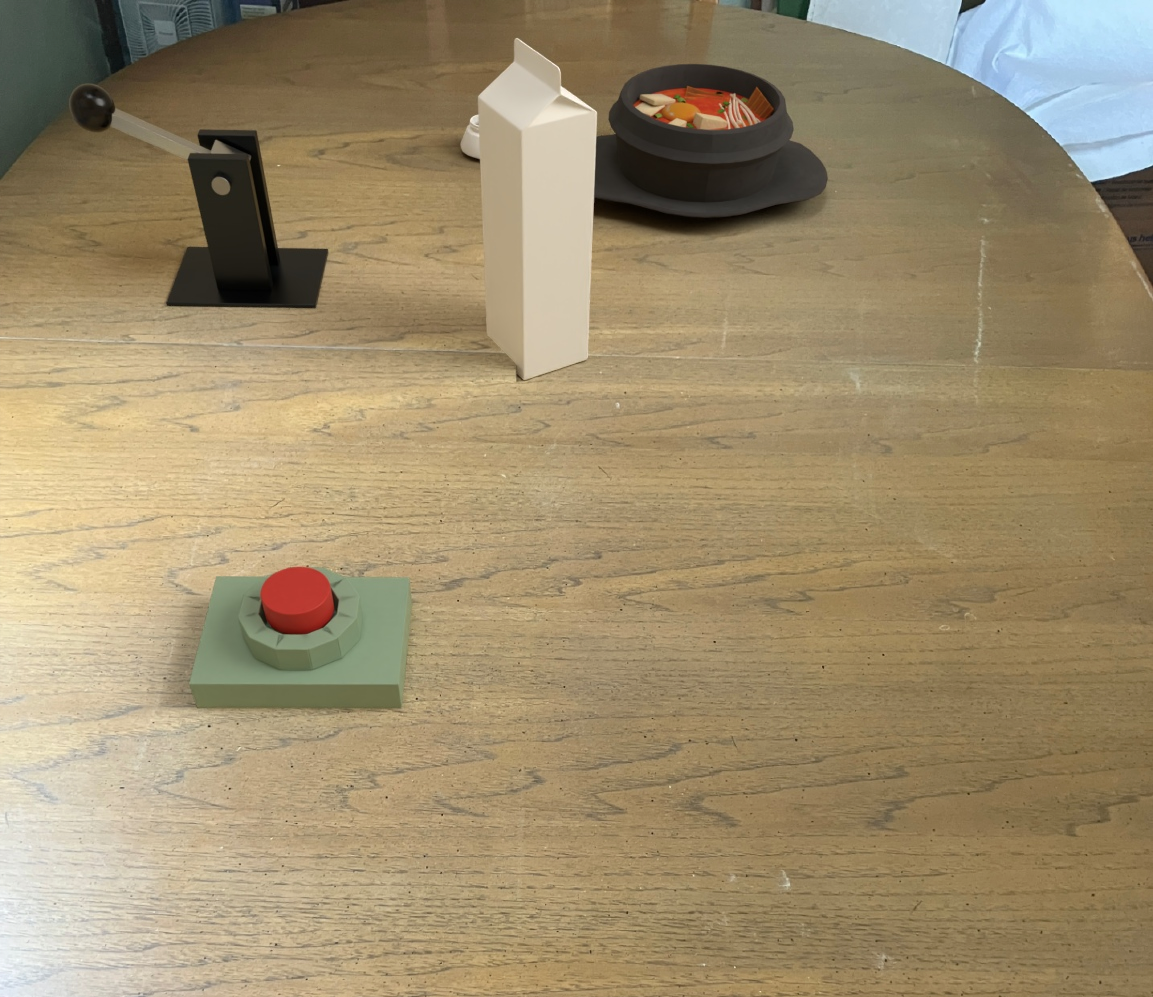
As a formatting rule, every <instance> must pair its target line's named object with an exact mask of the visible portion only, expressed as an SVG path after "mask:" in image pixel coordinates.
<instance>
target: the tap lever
mask: <svg viewBox="0 0 1153 997" xmlns="http://www.w3.org/2000/svg"><path fill="white" fill-rule="evenodd" d="M69 96H70V97H69V101H68V105H69V106H68V108H69V112H70V115H71V117H72V119H73V120H74V121H75V123H76V124H77V125H78V126H80V127H81V128H82V129H83V130H85V131H88V132H91V133H104V132H106V131H107V130H109V129H110V128H113V129H115V130H118V131H120V132H122V133H124V134H126V135H128V136H130V137H133V138H136V139H138V140H140V141H142V142H145V143H147V144H149V145H151V146H153V147H156V148H158V149H160V150H163V151H165V152H168V153H170V154H172V155H174V156H176V157H179V158H181V159H182V160H183V159H184V160H186V161H188V157H189V154H190V153H216V154H246V153H244V152H242V151H240V150H238V149H235V148H233V147H231V146H229V145H226V144H224V143H222V142H220V141H218V140H215V142H214V144H213V147H212V149H211V150H208V149H206V148H204V147H202V146H200V145H199V144H197V143H195V142H193V141H190V140H189V139H186V138H183V137H181V136H179V135H177V134H176V133H173V132H170V131H169V130H166V129H163V128H161V127H159V126H157V125H155V124H152V123H150V122H148V121H146V120H144V119H141V118H139V117H136V116H135V115H133V114H130V113H127V112H126V111H123V110H121V109H119V108H116V105H115V102H114V99H113V98H112V96H111V94H110V93H109V92H108V91H107V90H105V89H104V88H103V87H102V86H100V85H98V84H94V83H83V84H80V85H78V86H77V87H75V88H74V89H73V90H72V92H71V94H70V95H69ZM248 155H249V154H248ZM250 159H251V155H249V160H250Z"/></svg>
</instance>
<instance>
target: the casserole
mask: <svg viewBox="0 0 1153 997" xmlns="http://www.w3.org/2000/svg"><path fill="white" fill-rule="evenodd" d="M786 102H787V101H786V98H785V96H784V95H783V92H782V91H781V90H780V89H779V88H778V87H777V86H776V85H775V84H773V83H771V82H770V81H769V80H766V79H765V78H762V77H760V76H759V75H757V74H754V73H751V72H748V71H745V70H742V69H737V68H732V67H728V66H725V65H717V64H707V63H706V64H705V63H701V64H700V63H679V64H668V65H663V66H659V67H653V68H650V69H647V70H644V71H641V72H639V73H637V74H635V75H634V76H632V77H630V78H629V79H628V80H627V81H626V82H625V83H624V85H623V86H622V88H621V90H620V93H619V96H618V99H617V100H616V101H615V102H614V103H613V104H612V106H611V107H610V109H609V111H608V119H607V120H608V124H609V125H610V128H611V129H612V131H613V132H614V133H613V134H603V135H596V155H595V181H594V199H599V200H601V201H602V200H603V201H608V202H615V203H623V204H629V205H630V204H631V205H634V206H638V207H640V208H645V209H649V210H652V211H657V212H659V213H664V214H667V215H674V216H680V217H689V218H703V219H704V218H705V219H706V218H727V217H732V216H740V215H745V214H749V213H752V212H756V211H760V210H763V209H766V208H769V207H773V206H775V205H783V204H789V203H790V204H791V203H795V202H796V203H797V202H804V201H807V200H812V199H814V198H815V197H818V196H819V195H821V194H822V193H823V192H824V190H825V189H826V187H827V184H828V180H829V178H828V177H829V176H828V171H827V168H826V167H825V164H824V163H823V162H822V160H821V159H820V158H819V157H818V156H817V155H816V154H815V153H814V152H813V151H812V150H811V149H810V148H809V147H807V146H805V145H804V144H802V143H800V142H797V141H794V140H791V139H792V136H793V133H794V131H795V130H794V122H793V119H791V118H792V117H790V115H789V113H788V111H787V110H788V109H787V103H786Z"/></svg>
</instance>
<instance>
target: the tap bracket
mask: <svg viewBox="0 0 1153 997" xmlns="http://www.w3.org/2000/svg"><path fill="white" fill-rule="evenodd" d="M196 136H197V140H198V145H200V146H202V147H204V148H206V149H208V150H211V149H212V147H213V144H214V142H215V140H218V141H220V142H222V143H224V144H226V145H229V146H231V147H233V148H235V149H238V150H240V151H242V152H244V153H246V154H216V153H190V154H189V157H188V160H187V162H188V166H189V171H190V176H191V181H192V184H193V188H194V193H195V197H196V198H195V199H196V203H197V206H198V210H199V215H200V220H201V222H202V223H201V224H202V227H203V228H202V229H203V232H204V236H205V241H206V245H207V246H186V249H185V252H184V255H183V257H182V259H181V262H180V264H179V267H178V270H177V272H176V275H175V277H174V281H173V283H172V286H171V289H170V291H169V294H168V296H167V299H166V302H165V305H166V307H184V308H185V307H187V308H199V307H200V308H253V309H254V308H256V309H261V308H263V309H267V308H268V309H317V305H318V301H319V296H320V291H321V287H322V284H323V278H324V274H325V270H326V265H327V260H328V256H329V248H314V247H313V248H311V247H310V248H309V247H307V248H306V247H279V246H278V240H277V235H276V229H275V223H274V219H273V218H274V217H273V213H272V208H271V202H270V196H269V190H268V186H267V179H266V175H265V168H264V164H263V158H262V152H261V147H260V141H259V136H258V131H257V130H256V129H255V130H252V129H208V128H207V129H206V128H205V129H203V128H200V129H199V130H198V132H197V135H196ZM248 154H249V155H251V159H250V160H249V155H248Z"/></svg>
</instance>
